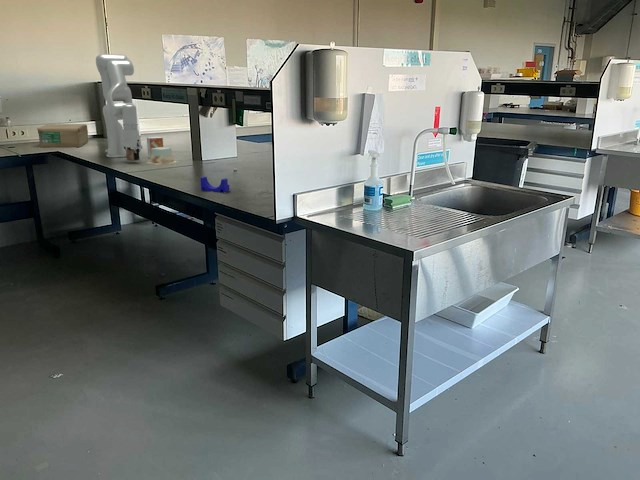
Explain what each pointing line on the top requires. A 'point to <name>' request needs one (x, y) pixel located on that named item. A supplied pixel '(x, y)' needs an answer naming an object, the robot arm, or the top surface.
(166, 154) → the tower top
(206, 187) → the blue cradle block
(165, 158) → the tower base
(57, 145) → the paper package
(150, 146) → the small box
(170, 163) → the cork mat
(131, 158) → the walnut block
